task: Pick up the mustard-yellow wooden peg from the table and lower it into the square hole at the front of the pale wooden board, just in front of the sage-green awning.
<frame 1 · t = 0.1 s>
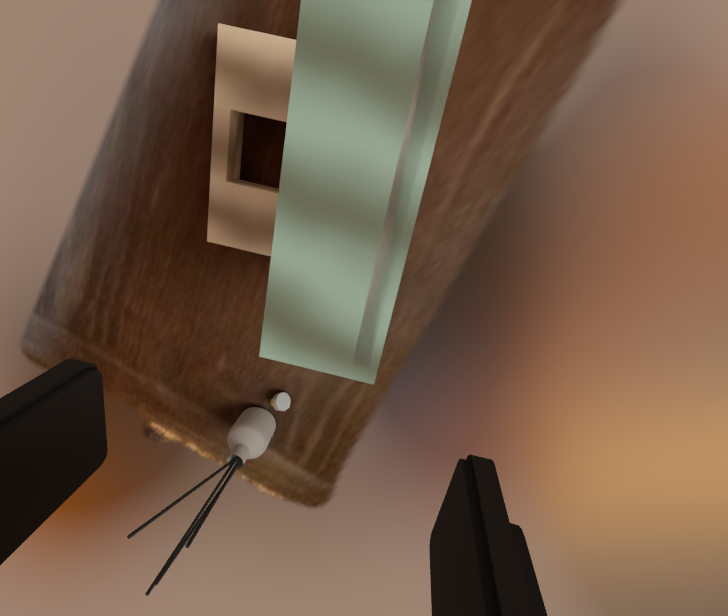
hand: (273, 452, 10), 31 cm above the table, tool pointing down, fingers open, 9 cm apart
socket board: (307, 162, 37), on the table
reed diffuser: (257, 410, 49), on the table
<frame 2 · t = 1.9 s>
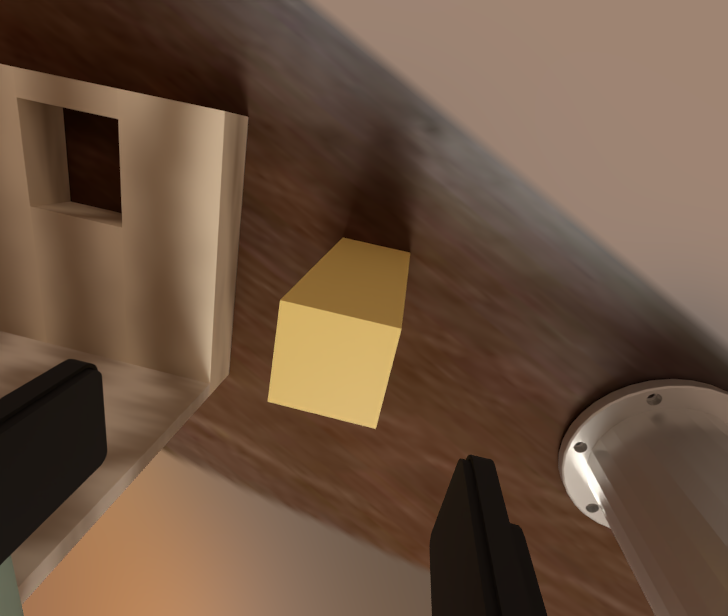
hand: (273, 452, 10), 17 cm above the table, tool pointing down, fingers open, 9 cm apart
socket board: (112, 218, 27), on the table
peg: (369, 277, 26), on the table
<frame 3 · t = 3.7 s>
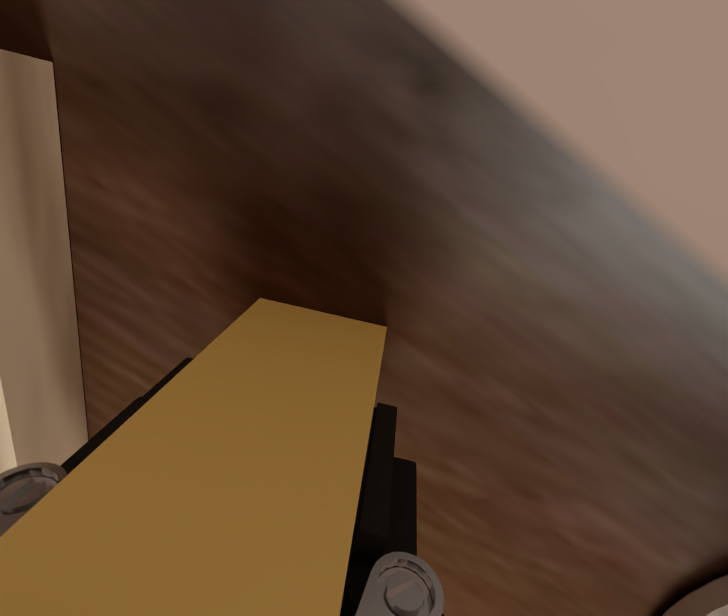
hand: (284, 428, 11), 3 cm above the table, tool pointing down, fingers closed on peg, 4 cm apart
peg: (313, 367, 14), on the table, touching gripper
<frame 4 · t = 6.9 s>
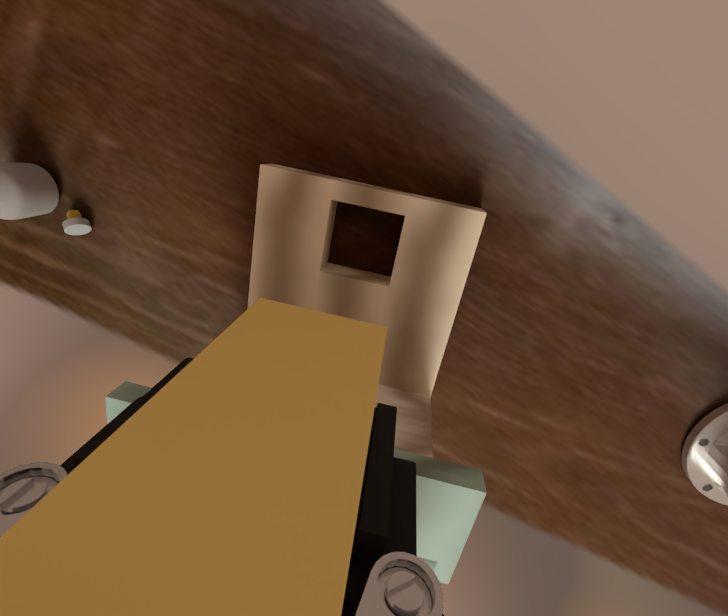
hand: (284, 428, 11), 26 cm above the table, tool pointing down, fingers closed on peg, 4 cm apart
socket board: (358, 274, 36), on the table
peg: (314, 367, 14), point 23 cm above the table, touching gripper
reed diffuser: (54, 184, 37), on the table
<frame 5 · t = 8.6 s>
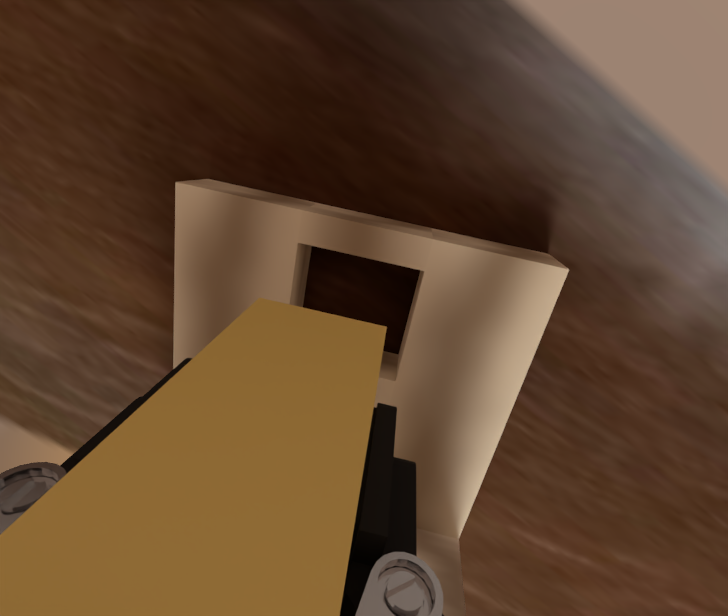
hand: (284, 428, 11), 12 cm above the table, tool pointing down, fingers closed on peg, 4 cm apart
socket board: (347, 349, 23), on the table
peg: (313, 367, 14), point 9 cm above the table, touching gripper
when the fingers open (5 cm above the table, at t = 10.1 s): peg drops 1 cm, resting in socket board.
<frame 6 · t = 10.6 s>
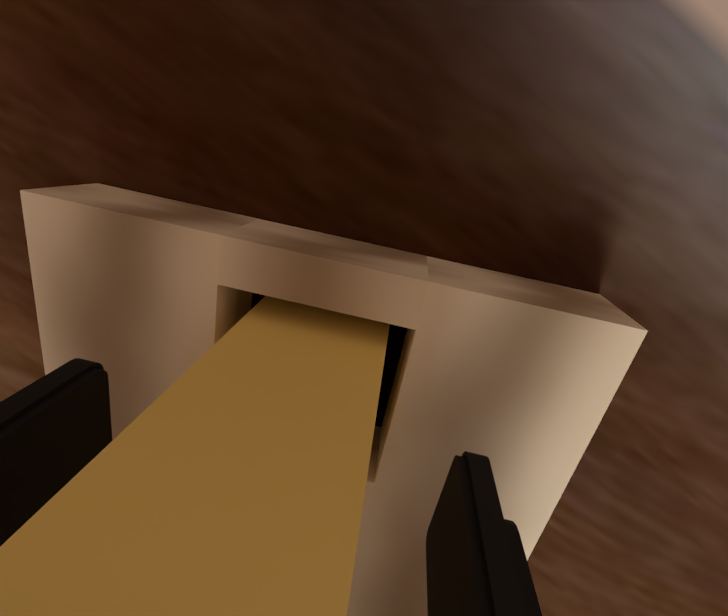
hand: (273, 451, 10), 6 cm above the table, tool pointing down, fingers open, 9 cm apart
socket board: (310, 420, 17), on the table
peg: (324, 349, 15), resting in socket board
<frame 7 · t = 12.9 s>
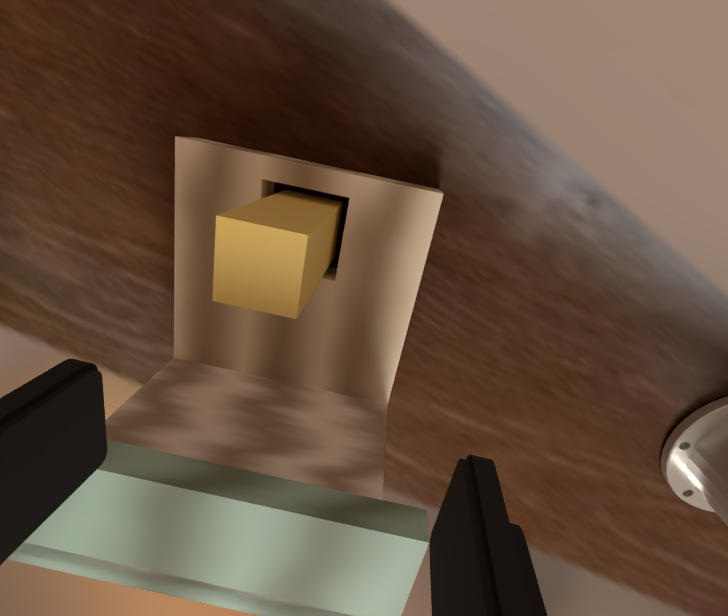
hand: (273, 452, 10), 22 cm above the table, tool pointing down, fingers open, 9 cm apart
socket board: (303, 267, 32), on the table
peg: (310, 224, 30), resting in socket board
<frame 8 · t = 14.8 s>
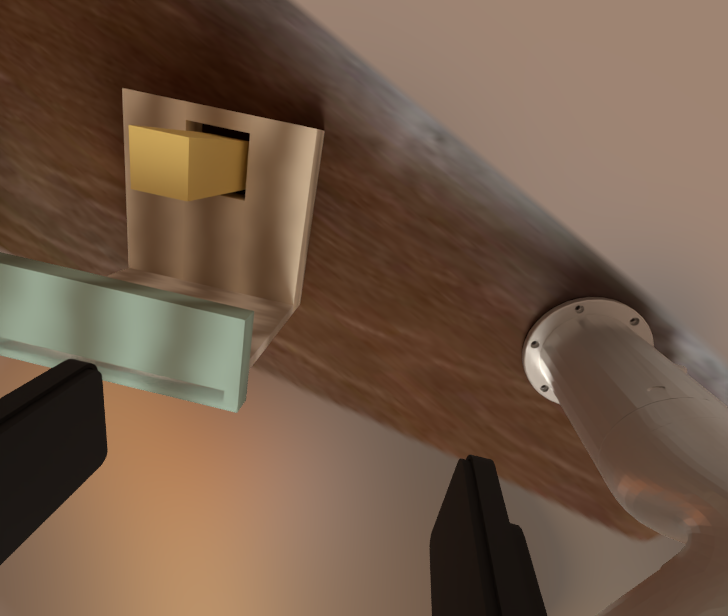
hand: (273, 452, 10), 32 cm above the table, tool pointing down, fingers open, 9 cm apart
socket board: (228, 196, 41), on the table
peg: (231, 161, 39), resting in socket board
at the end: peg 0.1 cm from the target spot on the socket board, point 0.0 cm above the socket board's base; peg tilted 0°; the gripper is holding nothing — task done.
